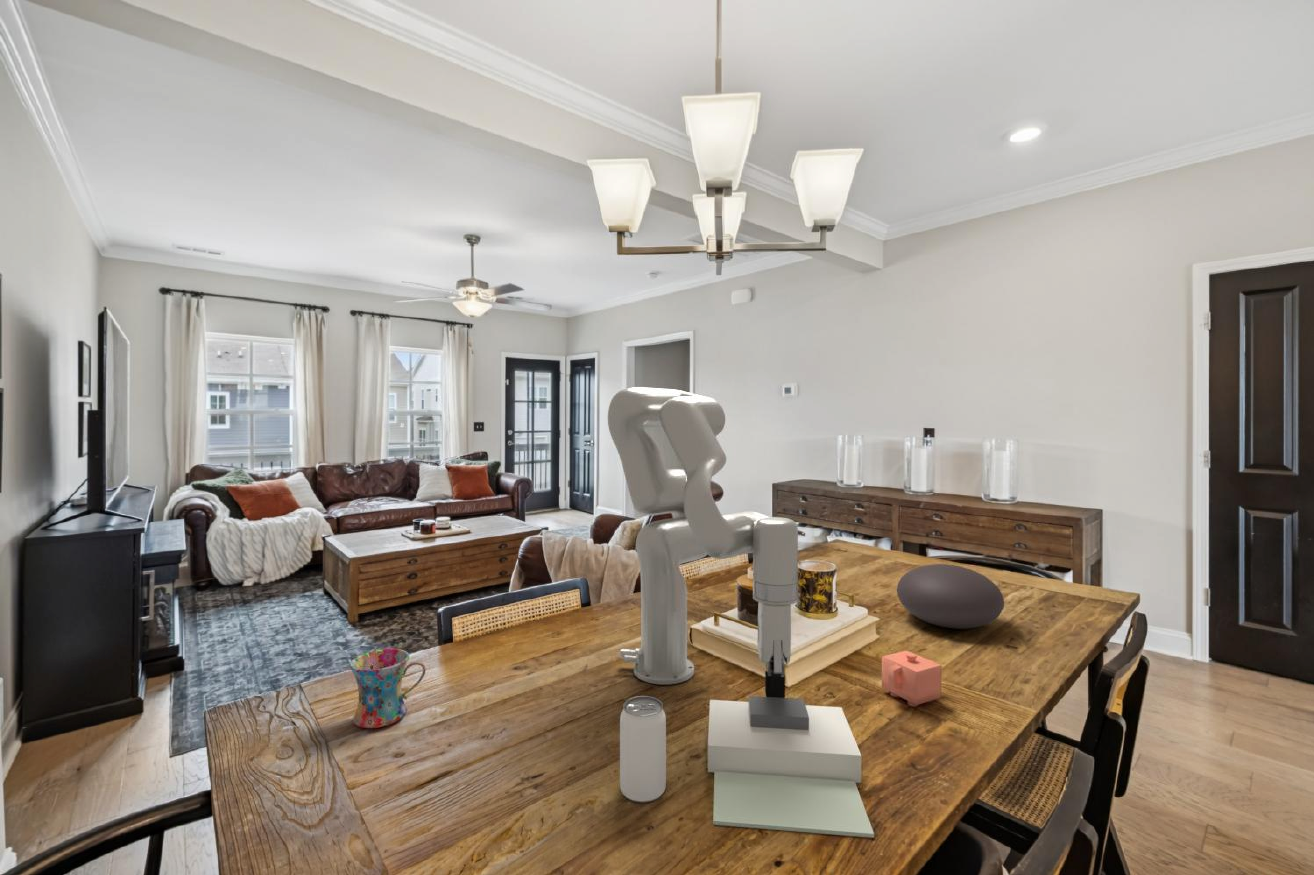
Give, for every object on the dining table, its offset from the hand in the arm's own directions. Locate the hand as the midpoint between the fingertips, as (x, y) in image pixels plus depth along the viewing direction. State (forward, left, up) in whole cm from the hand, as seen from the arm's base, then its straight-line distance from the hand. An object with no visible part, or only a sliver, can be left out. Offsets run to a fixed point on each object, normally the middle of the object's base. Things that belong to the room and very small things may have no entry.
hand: (774, 695), depth 98 cm
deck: (0, -8, -5) cm, 9 cm away
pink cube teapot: (+27, +13, -5) cm, 30 cm away
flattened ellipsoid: (+49, +55, -5) cm, 74 cm away
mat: (0, -21, -5) cm, 21 cm away
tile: (0, -6, -1) cm, 6 cm away
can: (-20, -20, -5) cm, 29 cm away
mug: (-67, -6, -5) cm, 68 cm away
